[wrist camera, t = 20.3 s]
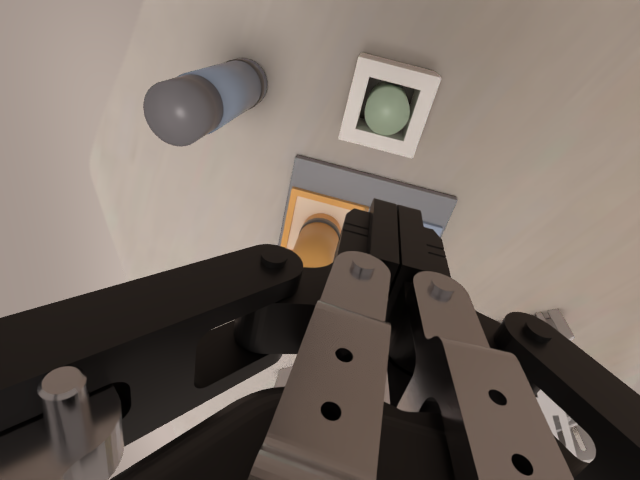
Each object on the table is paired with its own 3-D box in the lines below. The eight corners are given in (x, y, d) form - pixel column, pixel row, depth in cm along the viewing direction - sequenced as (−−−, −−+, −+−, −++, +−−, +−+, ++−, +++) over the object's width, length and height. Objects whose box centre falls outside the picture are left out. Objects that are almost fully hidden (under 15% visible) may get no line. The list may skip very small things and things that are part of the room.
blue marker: (225, 52, 32) (140, 69, 21) (271, 64, 32) (209, 88, 21) (221, 100, 34) (141, 139, 23) (264, 111, 34) (204, 156, 23)
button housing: (361, 52, 31) (358, 56, 27) (435, 71, 31) (441, 77, 27) (343, 126, 34) (338, 139, 30) (410, 144, 34) (412, 158, 30)
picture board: (296, 154, 36) (293, 158, 35) (456, 196, 35) (458, 202, 34) (276, 260, 42) (273, 266, 41) (411, 297, 41) (412, 304, 40)
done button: (373, 76, 31) (371, 84, 27) (412, 86, 31) (416, 95, 27) (362, 116, 33) (359, 128, 29) (399, 126, 33) (401, 140, 29)
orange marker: (306, 208, 37) (271, 289, 26) (345, 218, 37) (327, 304, 26) (298, 242, 39) (263, 331, 28) (336, 252, 39) (315, 345, 28)
